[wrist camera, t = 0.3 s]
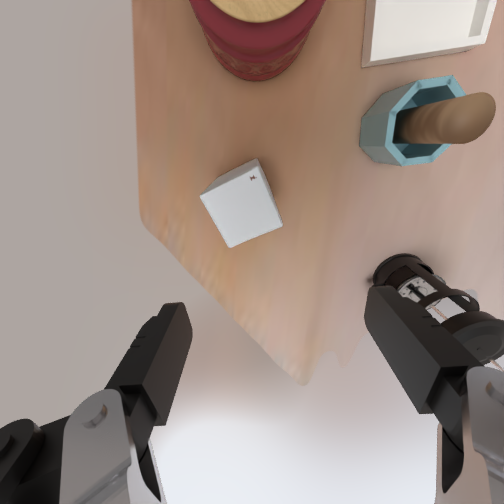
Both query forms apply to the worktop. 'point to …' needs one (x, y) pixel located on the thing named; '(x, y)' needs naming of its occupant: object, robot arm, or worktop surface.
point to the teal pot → (384, 115)
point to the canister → (256, 33)
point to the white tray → (423, 28)
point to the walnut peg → (445, 121)
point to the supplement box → (242, 204)
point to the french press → (434, 289)
